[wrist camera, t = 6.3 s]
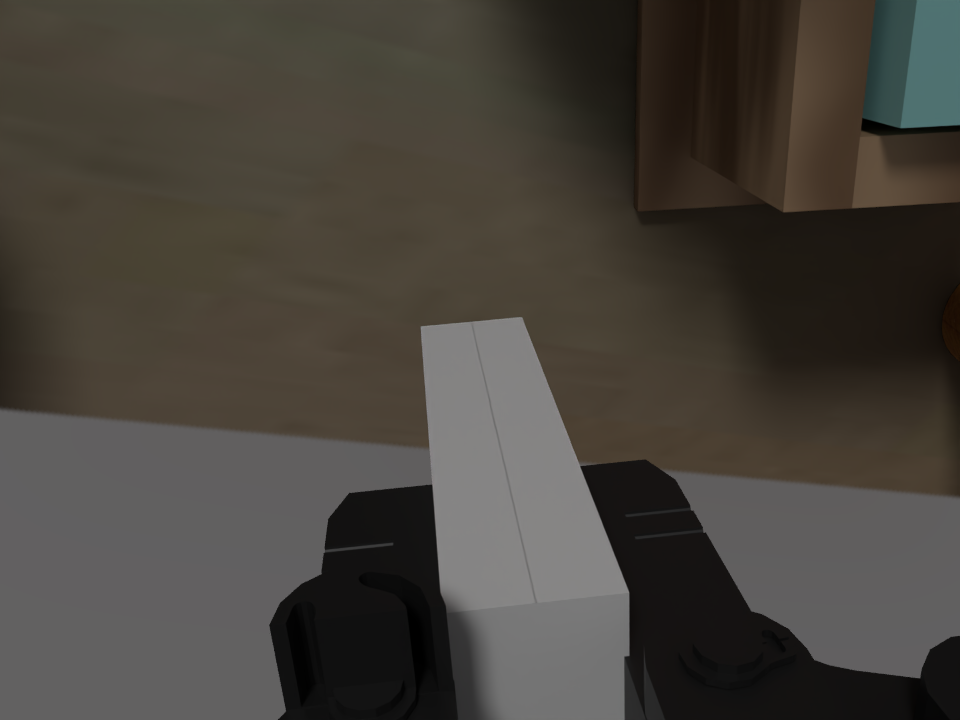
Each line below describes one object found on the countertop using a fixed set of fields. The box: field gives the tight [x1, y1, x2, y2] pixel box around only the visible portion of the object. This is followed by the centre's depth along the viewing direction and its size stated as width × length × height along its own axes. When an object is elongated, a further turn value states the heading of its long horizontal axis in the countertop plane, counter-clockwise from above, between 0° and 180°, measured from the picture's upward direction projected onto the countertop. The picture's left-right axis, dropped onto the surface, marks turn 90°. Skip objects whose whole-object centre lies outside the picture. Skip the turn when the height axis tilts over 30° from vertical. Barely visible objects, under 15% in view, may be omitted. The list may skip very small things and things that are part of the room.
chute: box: [634, 0, 960, 212], centre depth 36 cm, size 16×16×13 cm
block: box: [862, 0, 960, 128], centre depth 34 cm, size 5×5×12 cm
